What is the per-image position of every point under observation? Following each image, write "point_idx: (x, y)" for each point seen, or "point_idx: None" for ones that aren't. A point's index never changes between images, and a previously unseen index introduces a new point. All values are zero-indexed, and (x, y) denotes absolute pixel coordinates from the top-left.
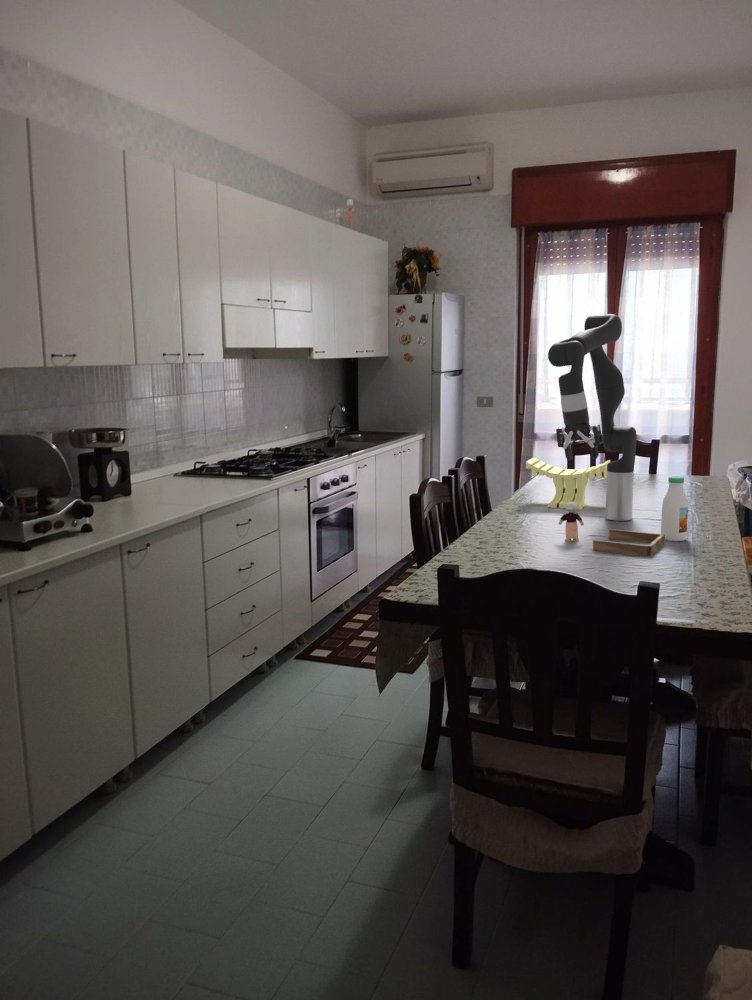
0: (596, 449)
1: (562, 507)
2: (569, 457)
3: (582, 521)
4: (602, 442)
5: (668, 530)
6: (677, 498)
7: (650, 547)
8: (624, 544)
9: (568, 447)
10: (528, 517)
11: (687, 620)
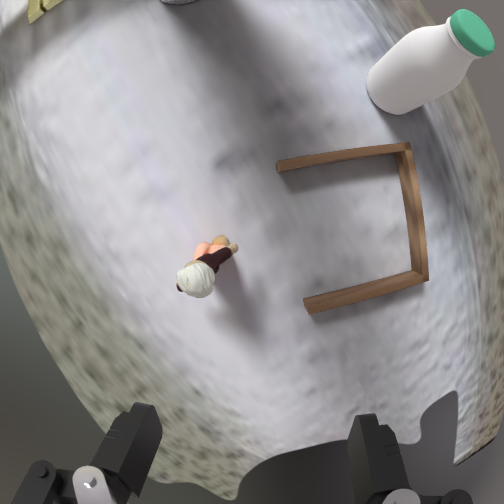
0: (394, 479)
1: (52, 5)
2: (156, 444)
3: (234, 250)
4: (462, 498)
5: (403, 109)
6: (461, 79)
7: (427, 280)
8: (379, 294)
9: (123, 493)
10: (24, 112)
11: (468, 449)
